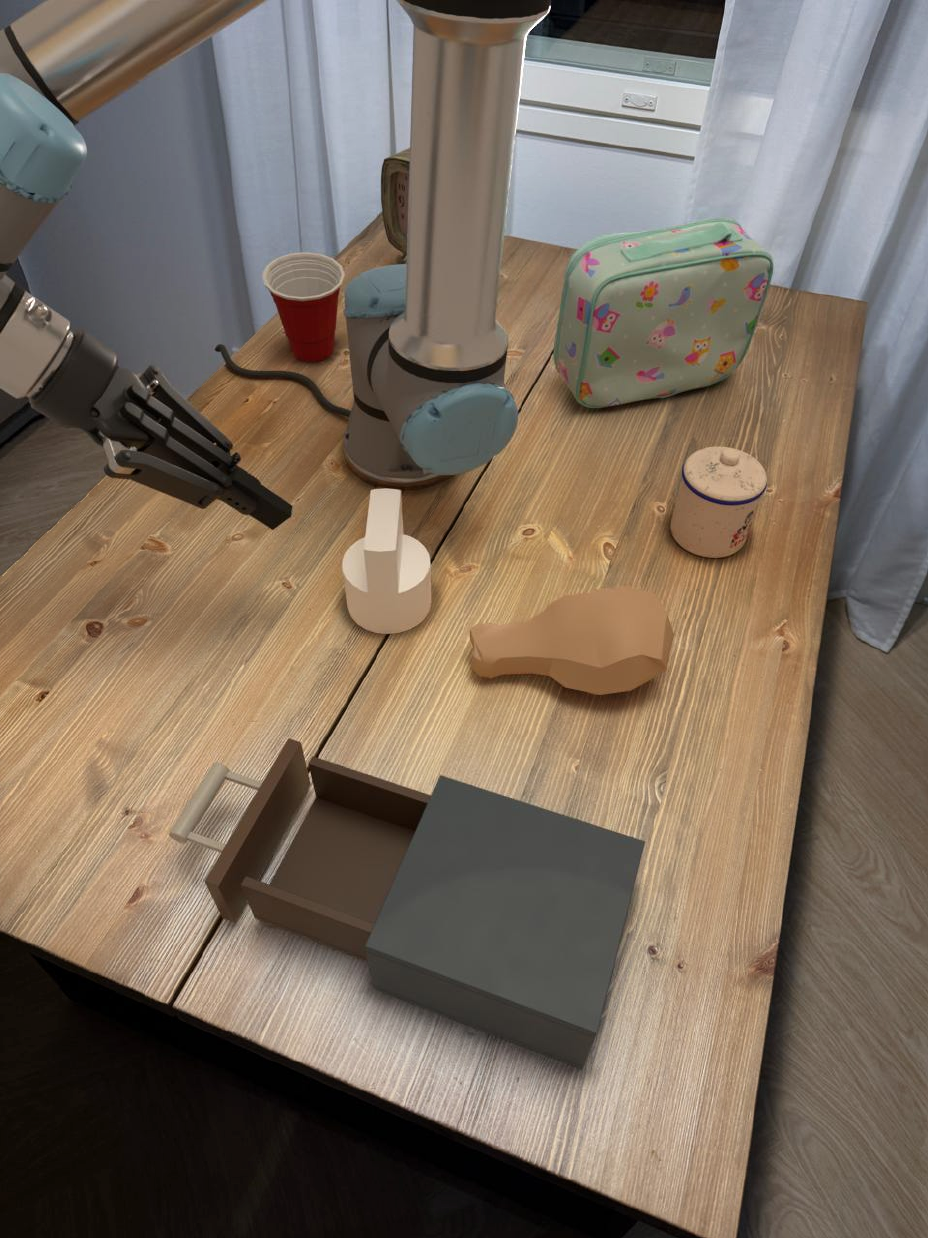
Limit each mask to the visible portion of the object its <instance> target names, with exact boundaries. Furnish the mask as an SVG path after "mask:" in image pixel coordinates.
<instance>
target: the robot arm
mask: <svg viewBox="0 0 928 1238" xmlns="http://www.w3.org/2000/svg"><path fill="white" fill-rule="evenodd" d="M266 2H268V0H45V1H43V2H41V3H40V4H38V5H37V6H36V7H34V8H32V9H31V10H30V11H28V12H26V13H24V14H23V15H22V16H19V18H17V19H16V20H14V21H13V22H11V23H10V24H9V25H8V26H6V27H4V28H2V29H1V30H0V389H1V390H3V391H4V392H5V393H7V394H9V395H10V396H12V397H13V398H15V399H19V400H20V399H23V398H25V397H27V398H28V403H29V405H30V408H31V409H33V410H35V411H36V412H38V413H39V414H41V415H43V416H44V417H46V418H47V419H49V420H51V421H52V422H54V423H55V424H57V425H59V426H60V427H62V428H64V429H80V430H81V431H83V432H84V433H85V434H87V435H88V436H89V438H90V439H91V440H92V441H93V442H94V443H95V444H96V445H98V446H99V447H102V448H103V449H104V452H105V454H106V457H107V461H108V462H107V463H106V464H105V465H104V466H103V472H104V474H105V475H106V476H107V477H109V478H111V479H120V480H130V481H132V482H135V483H138V484H140V485H142V486H145V487H147V488H150V489H152V490H154V491H157V492H159V493H163V494H164V495H167V496H170V497H172V498H174V499H177V500H180V501H182V502H184V503H187V504H189V505H192V506H194V507H197V508H199V509H201V510H205V509H207V508H208V507H209V506H210V505H211V504H213V503H214V502H215V501H216V500H219V501H221V502H223V503H224V504H225V505H228V506H229V507H230V508H233V509H234V510H235V511H237V512H238V513H240V514H241V515H244V516H250V517H252V518H253V519H255V520H256V521H257V522H259V523H261V524H263V525H264V526H265V527H267V528H269V529H270V530H272V531H274V530H275V529H277V528H278V527H280V526H281V525H283V524H284V523H285V522H286V521H287V520H289V519H290V518H291V517H292V514H293V507H294V506H293V504H291V503H290V502H288V501H286V500H285V499H283V498H282V497H281V496H279V495H278V494H277V493H275V492H274V491H272V490H270V489H269V488H267V487H266V486H265V485H263V484H262V482H261V481H260V480H259V479H258V478H257V477H255V476H254V475H252V474H251V473H249V472H248V471H247V470H246V469H244V468H243V467H241V466H239V465H238V464H239V463H240V462H241V461H242V456H241V455H240V453H238V451H235V452H234V453H233V454H232V453H231V450H232V449H233V448H234V445H233V442H232V441H231V440H230V439H229V438H228V437H227V436H226V435H225V434H224V433H223V432H222V431H221V430H219V428H217V427H216V426H215V425H214V424H213V423H212V422H211V421H210V420H209V419H208V418H207V417H206V416H204V414H203V413H201V412H200V411H199V410H198V409H197V408H196V407H195V406H194V405H192V403H190V402H189V401H188V400H187V399H186V398H185V397H184V396H183V395H182V394H181V393H180V392H179V391H178V390H176V388H174V386H172V385H171V383H170V382H169V381H168V379H167V378H166V377H165V375H164V374H163V372H162V371H161V370H160V368H159V367H158V366H156V365H154V364H151V365H149V366H148V367H147V368H146V369H145V370H144V371H143V372H139V373H135V372H133V371H131V370H130V369H128V368H124V367H122V366H119V357H118V356H119V355H118V354H117V353H116V351H114V350H112V348H110V347H108V346H107V345H105V344H104V343H103V342H102V341H100V340H98V339H97V338H95V337H94V336H92V335H91V334H90V333H88V332H87V331H85V330H84V329H82V330H79V329H77V330H75V331H73V332H72V331H71V329H72V327H71V321H70V320H69V319H67V318H66V317H64V316H63V315H61V314H60V313H58V312H57V311H55V310H54V309H53V308H51V307H50V306H49V305H47V304H45V303H44V302H43V301H41V300H39V299H38V298H36V297H35V296H34V295H32V294H31V293H29V292H28V291H27V290H25V288H24V287H23V286H21V285H20V284H19V283H16V281H14V280H12V279H11V278H10V277H9V276H8V275H7V272H9V270H11V268H12V267H13V265H14V264H15V263H16V261H17V260H18V259H19V257H20V255H21V254H22V253H23V251H24V250H25V249H26V247H27V246H28V245H29V243H30V242H31V241H32V239H33V238H34V237H35V235H36V234H37V233H38V231H39V230H40V229H41V227H42V226H43V224H44V223H45V222H46V220H48V218H49V216H50V215H51V214H52V212H53V211H54V210H55V208H56V207H57V206H58V204H59V203H60V201H62V200H64V198H65V197H66V196H68V194H69V193H70V191H71V190H72V185H73V183H74V181H75V179H76V177H77V176H78V174H79V172H80V171H81V169H82V167H83V165H84V164H85V162H86V160H87V157H88V148H87V143H86V141H85V139H84V137H83V135H82V134H81V132H79V130H77V129H76V127H75V126H76V125H78V124H79V123H80V122H81V121H83V120H84V119H86V118H87V117H89V116H90V115H92V114H94V113H95V112H97V111H98V110H100V109H101V108H103V107H105V106H106V105H107V104H109V103H111V102H113V101H114V100H115V99H117V98H118V97H120V96H122V95H123V94H125V93H126V92H128V91H129V90H131V89H132V88H134V87H136V86H137V85H138V84H140V83H142V82H143V81H145V80H146V79H148V78H149V77H151V76H153V75H154V74H156V73H157V72H159V71H161V70H162V69H164V68H165V67H166V66H168V65H170V64H171V63H173V62H174V61H176V60H178V59H179V58H181V57H183V56H184V55H185V54H187V53H188V52H190V51H192V50H193V49H194V48H196V47H197V46H200V45H201V44H203V43H204V42H205V41H207V40H208V39H210V38H211V37H213V36H215V35H216V34H217V33H219V32H221V31H223V30H224V29H225V28H227V27H229V26H230V25H232V24H233V23H235V22H237V21H238V20H240V19H241V18H243V17H245V15H247V14H249V13H250V12H252V11H254V10H255V9H257V8H258V7H260V6H261V5H263V4H265V3H266ZM396 2H397V3H398V4H399V6H400V7H401V8H402V9H403V10H404V12H405V13H406V15H407V16H408V17H409V18H410V21H411V23H412V25H413V30H412V32H413V34H412V66H411V102H410V134H409V136H410V137H409V148H410V165H409V199H408V233H407V256H406V263H405V264H398V265H397V264H390V265H383V266H378V267H374V268H371V269H368V270H366V271H363V272H360V273H359V274H358V275H357V276H355V277H353V278H352V279H350V281H349V282H348V283H347V285H346V286H345V290H344V295H343V296H344V309H343V316H344V317H345V325H346V334H347V335H346V336H347V345H348V356H349V364H350V373H351V385H352V393H353V402H352V406H351V410H350V409H348V408H345V407H341V406H338V405H336V404H334V403H332V402H331V401H329V400H328V399H327V398H326V397H325V395H324V394H323V393H322V391H321V389H320V388H319V387H318V385H317V384H316V383H315V382H314V381H313V380H312V379H311V378H310V377H308V376H306V375H303V374H301V373H299V372H294V371H289V370H252V369H247V368H244V367H240V366H239V365H237V364H236V363H235V362H234V361H233V360H232V357H231V356H230V354H229V351H228V349H227V348H226V346H225V344H222V343H219V344H217V345H216V346H215V348H214V351H215V352H216V353H220V354H221V356H222V358H223V361H224V362H225V364H226V365H227V367H228V368H229V369H230V370H231V371H232V372H234V373H236V374H238V375H241V376H243V377H244V376H245V377H250V378H281V379H283V378H284V379H290V380H295V381H298V382H301V383H302V384H304V385H306V386H307V387H308V388H309V389H310V390H311V391H312V393H313V394H314V396H315V397H316V399H317V400H318V401H319V403H320V405H322V406H323V407H324V408H325V409H327V410H328V411H329V412H331V413H334V414H337V415H339V416H340V415H341V416H344V417H345V418H348V421H347V425H346V428H345V431H344V435H343V452H344V458H345V461H346V465H347V466H348V468H349V469H350V470H351V472H353V474H355V475H356V476H357V477H358V478H359V479H361V480H362V481H364V482H367V483H369V484H371V485H375V486H376V487H380V488H383V489H385V488H387V489H397V490H401V491H402V490H405V491H406V490H415V489H416V490H417V489H422V488H427V487H431V486H434V485H436V484H437V485H438V484H439V483H441V482H443V481H445V480H447V479H449V477H452V476H456V475H461V474H466V473H469V472H472V471H474V470H477V469H479V468H481V467H483V466H485V465H486V464H488V463H490V462H491V460H492V459H493V458H495V457H496V456H498V455H500V454H501V453H502V452H503V451H504V450H505V449H506V448H507V446H508V445H509V443H510V442H511V440H512V439H513V436H514V435H515V432H516V430H517V427H518V423H519V411H518V407H517V404H516V401H515V397H514V395H513V394H512V392H511V391H510V390H509V389H508V388H507V387H506V386H505V385H506V384H505V374H506V366H507V358H508V357H507V356H508V348H509V335H508V332H507V331H506V329H505V327H504V326H503V325H502V324H501V323H500V322H499V321H498V320H497V319H496V316H497V315H496V314H497V306H498V297H499V289H500V288H499V286H500V278H501V270H502V269H501V268H502V261H503V260H502V259H503V250H504V242H505V232H506V224H507V216H508V215H507V214H508V207H509V206H508V205H509V197H510V196H509V195H510V188H511V179H512V170H513V169H512V168H513V160H514V152H515V142H516V133H517V124H518V115H519V106H520V96H521V87H522V78H523V69H524V60H525V53H526V52H525V50H526V43H527V42H526V41H527V36H528V35H529V33H530V31H531V30H532V29H533V28H534V27H535V26H537V24H539V23H540V22H541V21H542V20H543V19H544V18H545V17H546V16H547V15H548V14H549V13H550V10H551V5H552V4H551V3H552V0H396Z"/></svg>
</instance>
